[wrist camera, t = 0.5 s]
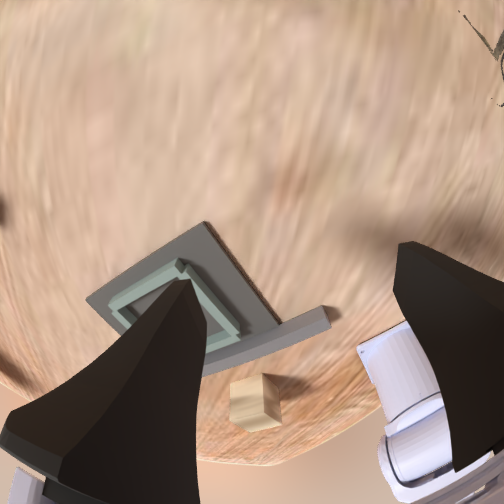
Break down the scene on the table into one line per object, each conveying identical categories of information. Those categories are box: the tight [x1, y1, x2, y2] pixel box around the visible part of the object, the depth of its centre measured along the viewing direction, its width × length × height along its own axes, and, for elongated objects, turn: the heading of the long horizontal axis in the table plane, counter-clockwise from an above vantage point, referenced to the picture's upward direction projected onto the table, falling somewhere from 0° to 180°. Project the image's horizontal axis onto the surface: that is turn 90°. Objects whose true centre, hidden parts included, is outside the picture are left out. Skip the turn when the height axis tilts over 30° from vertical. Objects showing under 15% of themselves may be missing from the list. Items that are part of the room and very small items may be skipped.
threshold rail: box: [202, 305, 332, 377], centre depth 24 cm, size 2×22×2 cm, turn 120°
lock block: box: [229, 373, 282, 432], centre depth 26 cm, size 4×4×5 cm
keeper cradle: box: [86, 221, 279, 355], centre depth 22 cm, size 11×14×2 cm
